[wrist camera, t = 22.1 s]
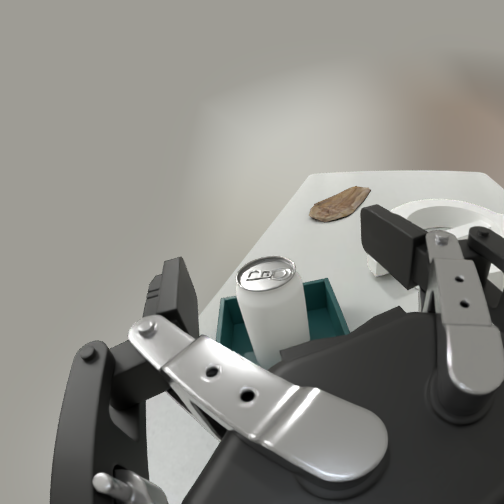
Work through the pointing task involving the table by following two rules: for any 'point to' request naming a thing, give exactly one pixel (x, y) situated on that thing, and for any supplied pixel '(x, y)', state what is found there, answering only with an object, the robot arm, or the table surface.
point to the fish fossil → (339, 204)
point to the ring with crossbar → (449, 225)
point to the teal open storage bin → (318, 313)
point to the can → (272, 307)
